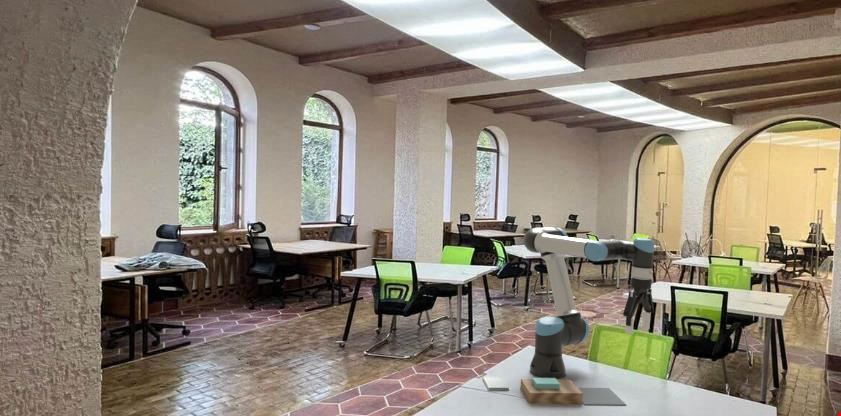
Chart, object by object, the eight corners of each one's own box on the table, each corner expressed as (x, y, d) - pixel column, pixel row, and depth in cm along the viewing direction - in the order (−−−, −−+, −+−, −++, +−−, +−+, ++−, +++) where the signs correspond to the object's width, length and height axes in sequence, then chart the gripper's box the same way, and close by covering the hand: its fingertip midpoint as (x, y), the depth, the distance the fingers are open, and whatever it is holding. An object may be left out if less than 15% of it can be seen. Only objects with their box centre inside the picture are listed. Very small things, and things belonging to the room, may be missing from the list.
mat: (584, 405, 198) (584, 404, 198) (569, 388, 214) (569, 387, 214) (626, 405, 199) (626, 404, 199) (608, 388, 215) (608, 387, 215)
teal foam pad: (536, 388, 202) (536, 383, 202) (532, 382, 208) (532, 377, 208) (559, 389, 202) (559, 383, 202) (554, 383, 208) (554, 378, 208)
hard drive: (509, 387, 210) (501, 376, 222) (488, 387, 209) (482, 376, 222) (508, 391, 210) (501, 380, 222) (488, 391, 209) (482, 380, 222)
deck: (529, 403, 198) (529, 392, 198) (520, 388, 212) (520, 378, 212) (582, 403, 199) (582, 393, 199) (569, 389, 213) (569, 379, 213)
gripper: (634, 282, 197) (630, 338, 199) (665, 276, 214) (661, 328, 215) (616, 279, 203) (612, 333, 204) (647, 273, 219) (643, 323, 221)
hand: (637, 331), depth 210 cm, fingers open, 13 cm apart
